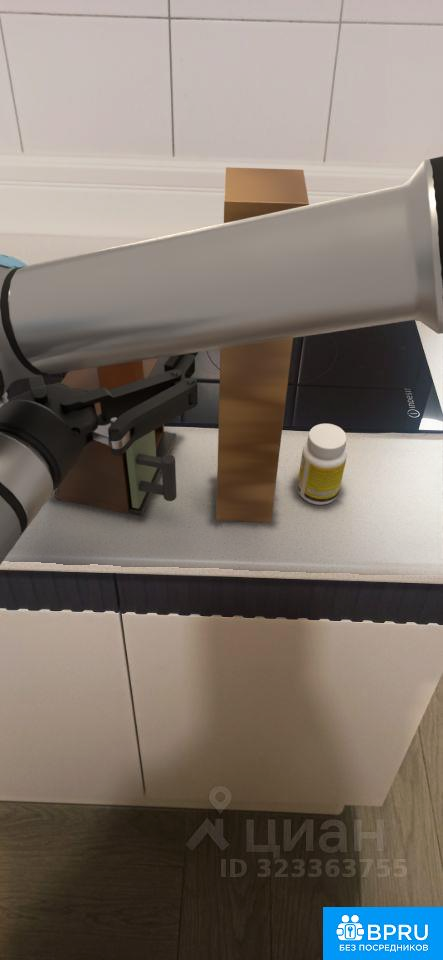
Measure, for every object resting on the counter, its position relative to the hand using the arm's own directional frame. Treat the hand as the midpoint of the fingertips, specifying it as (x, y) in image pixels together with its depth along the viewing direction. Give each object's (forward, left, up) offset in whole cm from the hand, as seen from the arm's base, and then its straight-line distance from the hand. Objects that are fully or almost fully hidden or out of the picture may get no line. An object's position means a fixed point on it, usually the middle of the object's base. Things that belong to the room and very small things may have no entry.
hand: (132, 324), depth 67 cm
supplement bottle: (-21, -5, -18) cm, 28 cm away
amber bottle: (0, +3, -6) cm, 7 cm away
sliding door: (-6, +5, -17) cm, 18 cm away
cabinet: (+1, +4, -18) cm, 18 cm away
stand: (-14, +1, -18) cm, 23 cm away
